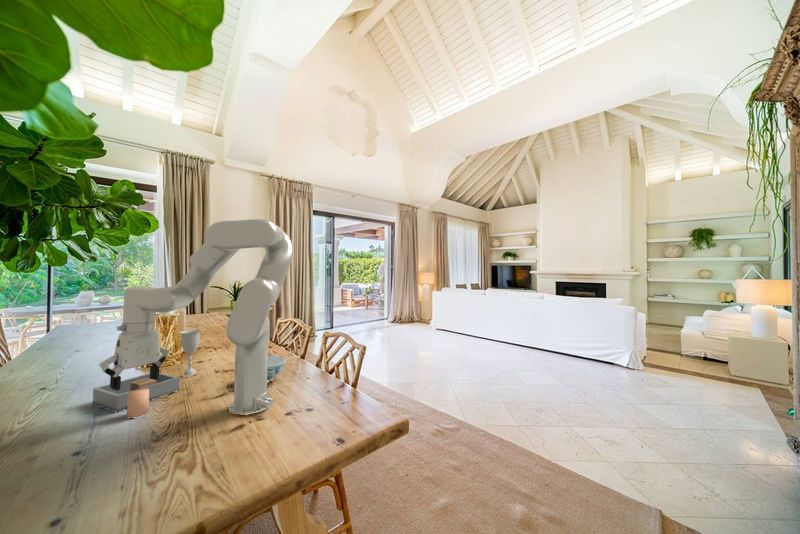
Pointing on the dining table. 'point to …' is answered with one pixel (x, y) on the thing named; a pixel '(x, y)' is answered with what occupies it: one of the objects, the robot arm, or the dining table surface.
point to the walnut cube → (142, 383)
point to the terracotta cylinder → (137, 402)
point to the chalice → (190, 346)
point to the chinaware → (274, 366)
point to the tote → (119, 398)
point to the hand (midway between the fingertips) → (135, 384)
